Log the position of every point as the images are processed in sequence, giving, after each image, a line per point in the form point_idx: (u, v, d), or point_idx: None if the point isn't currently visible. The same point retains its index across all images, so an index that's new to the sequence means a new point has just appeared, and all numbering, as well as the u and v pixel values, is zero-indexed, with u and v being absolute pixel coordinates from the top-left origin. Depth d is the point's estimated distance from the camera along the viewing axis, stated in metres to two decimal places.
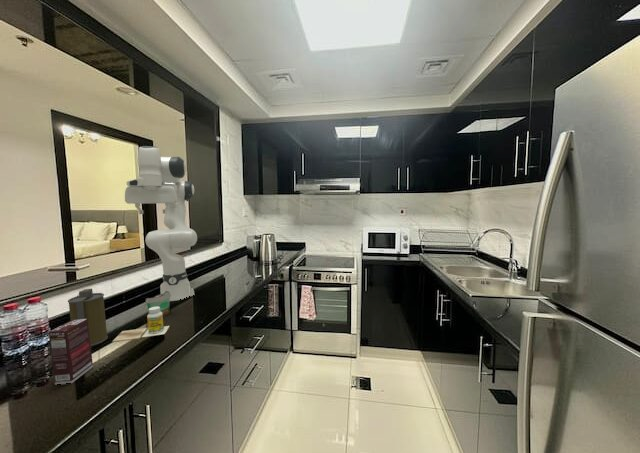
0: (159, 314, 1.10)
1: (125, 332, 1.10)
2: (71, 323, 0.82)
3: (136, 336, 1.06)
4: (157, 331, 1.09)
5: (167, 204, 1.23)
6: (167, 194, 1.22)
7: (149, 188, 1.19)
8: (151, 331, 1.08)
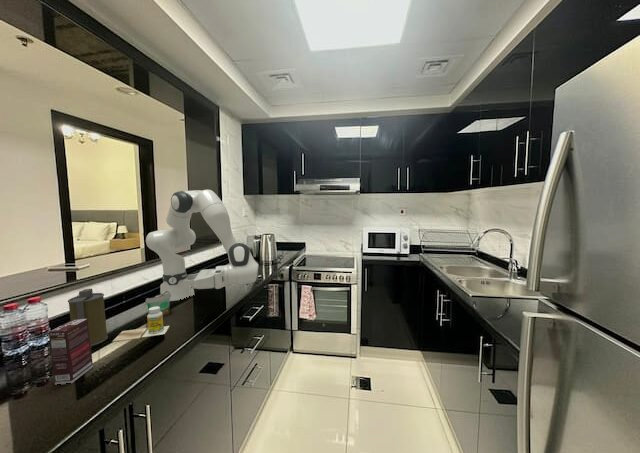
0: (159, 314, 1.10)
1: (125, 332, 1.10)
2: (71, 323, 0.82)
3: (136, 336, 1.06)
4: (157, 331, 1.09)
5: None
6: None
7: None
8: (151, 331, 1.08)
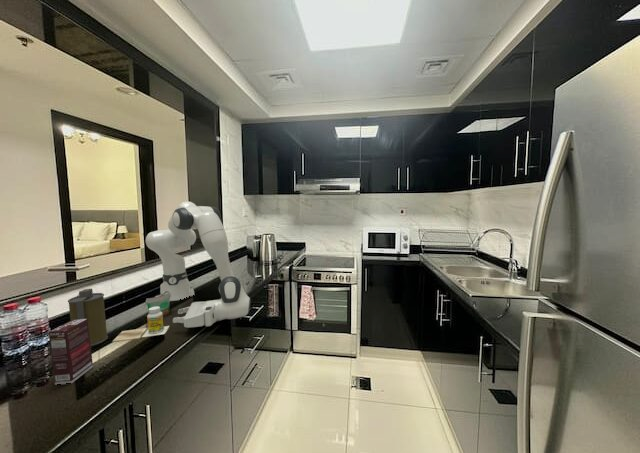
0: (159, 314, 1.10)
1: (125, 332, 1.10)
2: (71, 323, 0.81)
3: (136, 336, 1.06)
4: (157, 331, 1.09)
5: None
6: None
7: None
8: (151, 331, 1.08)
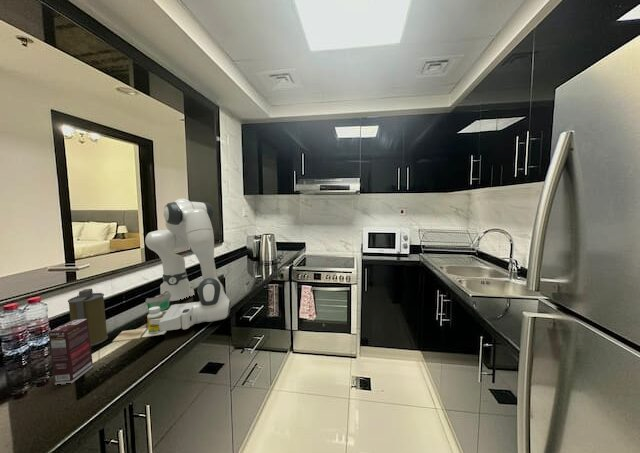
0: (159, 314, 1.10)
1: (125, 332, 1.10)
2: (71, 323, 0.81)
3: (136, 336, 1.06)
4: (157, 331, 1.09)
5: None
6: None
7: None
8: (151, 331, 1.08)
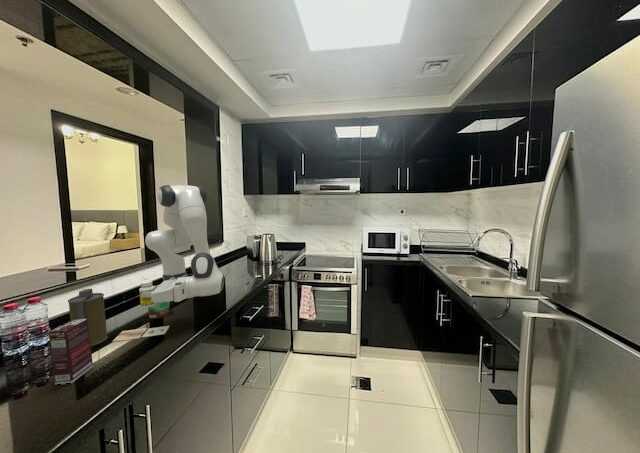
0: (151, 288, 1.09)
1: (125, 332, 1.10)
2: (71, 323, 0.82)
3: (136, 336, 1.06)
4: (149, 305, 1.08)
5: None
6: None
7: None
8: (143, 304, 1.07)
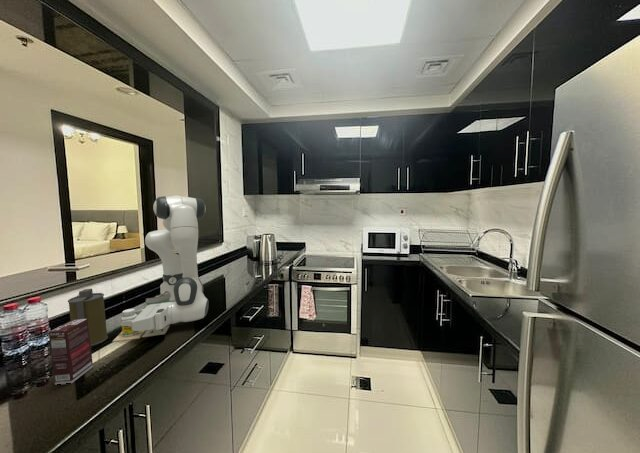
0: (133, 316, 1.07)
1: None
2: (71, 323, 0.82)
3: (136, 336, 1.06)
4: (131, 334, 1.06)
5: None
6: None
7: None
8: (125, 334, 1.06)
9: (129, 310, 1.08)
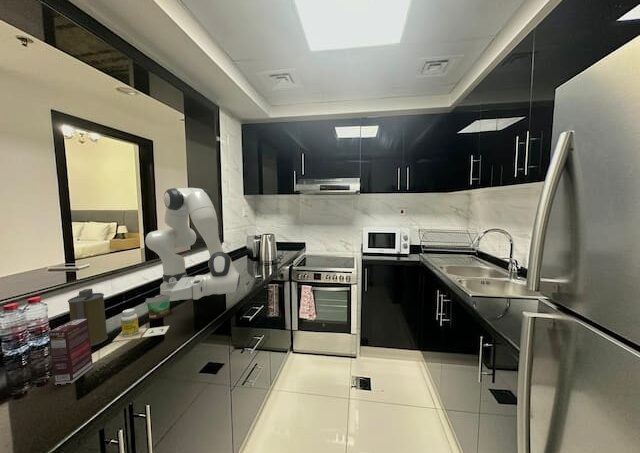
0: (133, 316, 1.07)
1: None
2: (71, 323, 0.82)
3: (136, 336, 1.06)
4: (131, 334, 1.06)
5: None
6: None
7: None
8: (125, 334, 1.06)
9: (129, 310, 1.08)
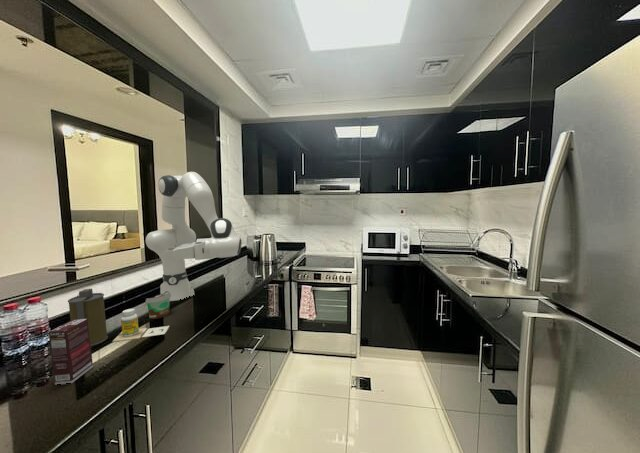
0: (133, 316, 1.07)
1: None
2: (71, 323, 0.82)
3: (136, 336, 1.06)
4: (131, 334, 1.06)
5: None
6: None
7: None
8: (125, 334, 1.06)
9: (129, 310, 1.08)
